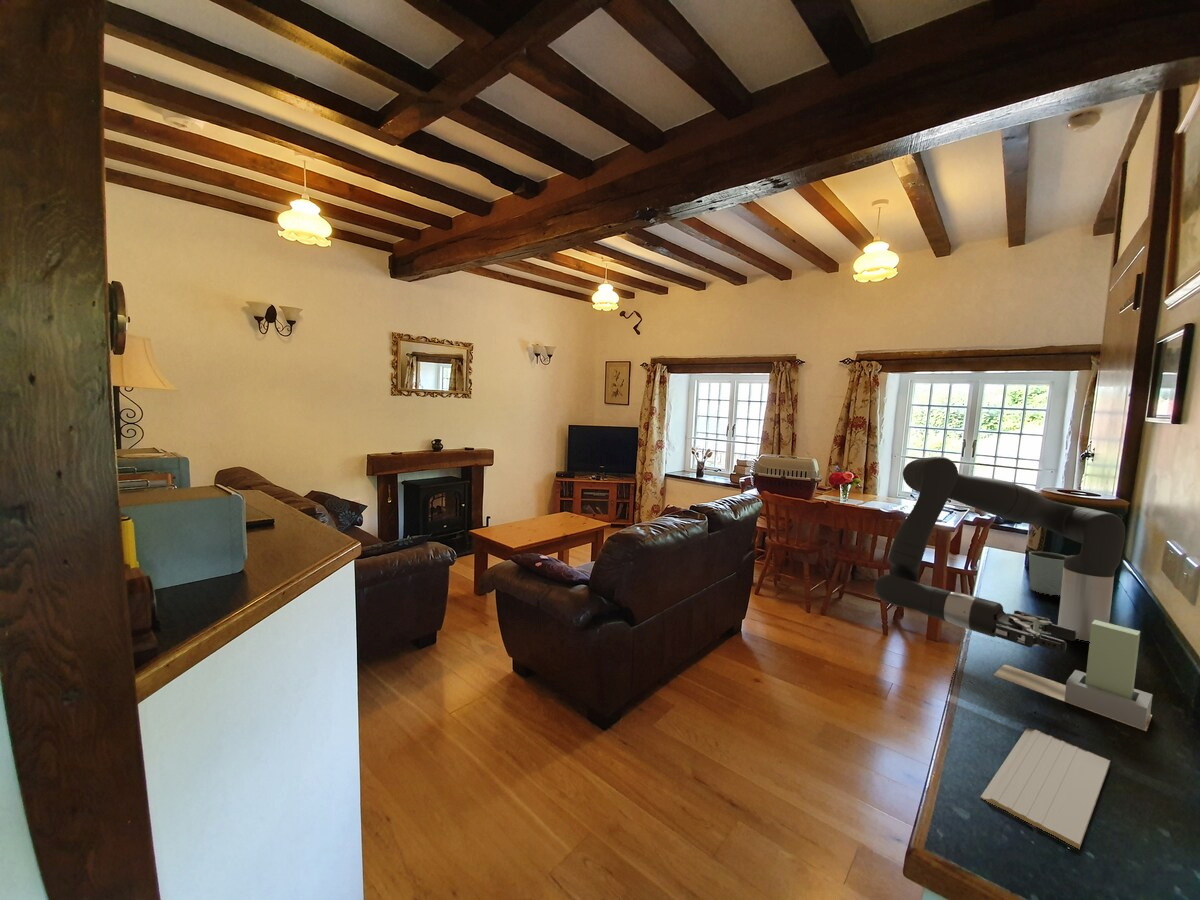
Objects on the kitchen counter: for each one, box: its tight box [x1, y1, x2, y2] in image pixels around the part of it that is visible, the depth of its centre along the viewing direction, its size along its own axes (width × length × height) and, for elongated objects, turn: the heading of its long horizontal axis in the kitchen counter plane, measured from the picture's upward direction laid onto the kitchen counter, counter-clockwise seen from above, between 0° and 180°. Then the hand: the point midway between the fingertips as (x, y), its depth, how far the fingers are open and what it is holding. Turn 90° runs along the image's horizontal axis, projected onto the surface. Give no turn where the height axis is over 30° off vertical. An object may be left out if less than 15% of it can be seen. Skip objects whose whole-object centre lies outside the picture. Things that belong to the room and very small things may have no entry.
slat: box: [1085, 620, 1141, 700], centre depth 92 cm, size 3×6×16 cm, turn 36°
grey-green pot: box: [1028, 550, 1068, 597], centre depth 158 cm, size 10×10×12 cm
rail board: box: [992, 663, 1153, 732], centre depth 97 cm, size 8×22×1 cm, turn 36°
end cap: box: [1064, 669, 1154, 731], centre depth 93 cm, size 8×10×4 cm
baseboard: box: [980, 711, 1116, 850], centre depth 77 cm, size 31×3×12 cm
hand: (1071, 641), depth 97 cm, fingers open, 8 cm apart
